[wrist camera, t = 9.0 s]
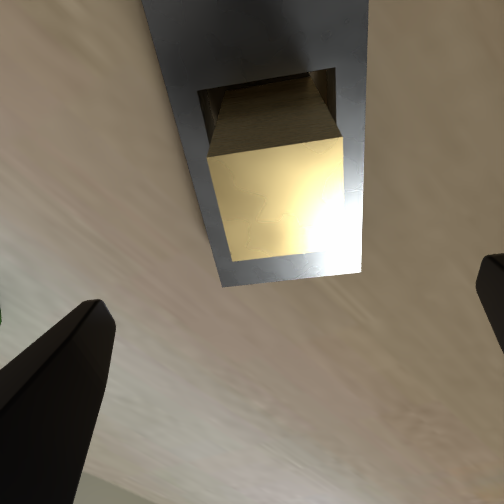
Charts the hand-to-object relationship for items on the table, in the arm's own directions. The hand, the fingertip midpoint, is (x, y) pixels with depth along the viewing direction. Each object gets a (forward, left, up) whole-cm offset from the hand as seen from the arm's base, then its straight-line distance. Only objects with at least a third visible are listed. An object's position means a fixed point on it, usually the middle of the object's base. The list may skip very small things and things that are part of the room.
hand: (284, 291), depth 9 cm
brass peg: (0, 0, -12) cm, 12 cm away
